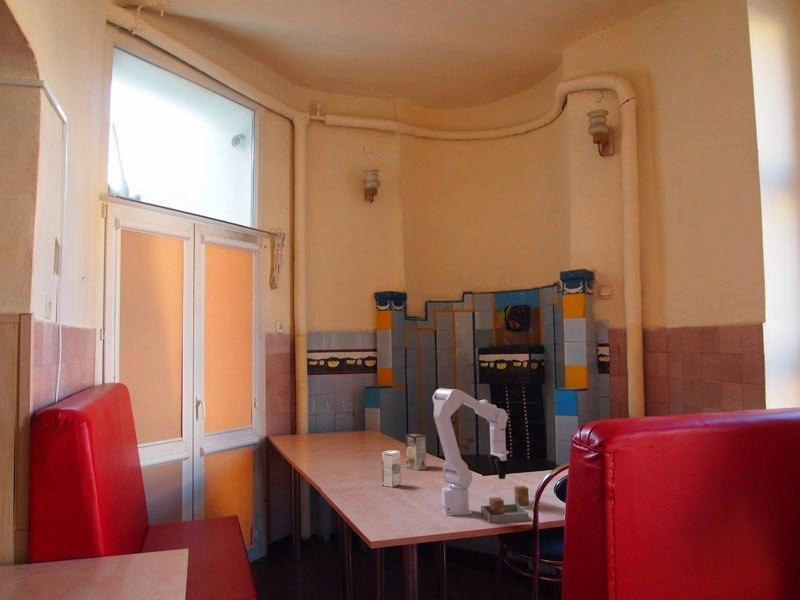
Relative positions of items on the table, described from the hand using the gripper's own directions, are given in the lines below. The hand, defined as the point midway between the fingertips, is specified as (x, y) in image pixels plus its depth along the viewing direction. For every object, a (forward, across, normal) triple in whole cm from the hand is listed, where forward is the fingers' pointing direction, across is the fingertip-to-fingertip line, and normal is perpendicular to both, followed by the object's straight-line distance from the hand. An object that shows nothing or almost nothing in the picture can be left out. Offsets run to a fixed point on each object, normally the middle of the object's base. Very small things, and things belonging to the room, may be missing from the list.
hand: (499, 476), depth 222 cm
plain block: (+9, -19, +6) cm, 22 cm away
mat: (+9, -7, -6) cm, 13 cm away
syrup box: (+10, +35, +38) cm, 53 cm away
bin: (+9, -19, +4) cm, 22 cm away
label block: (+9, -7, -6) cm, 13 cm away
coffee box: (+10, +68, +23) cm, 72 cm away
